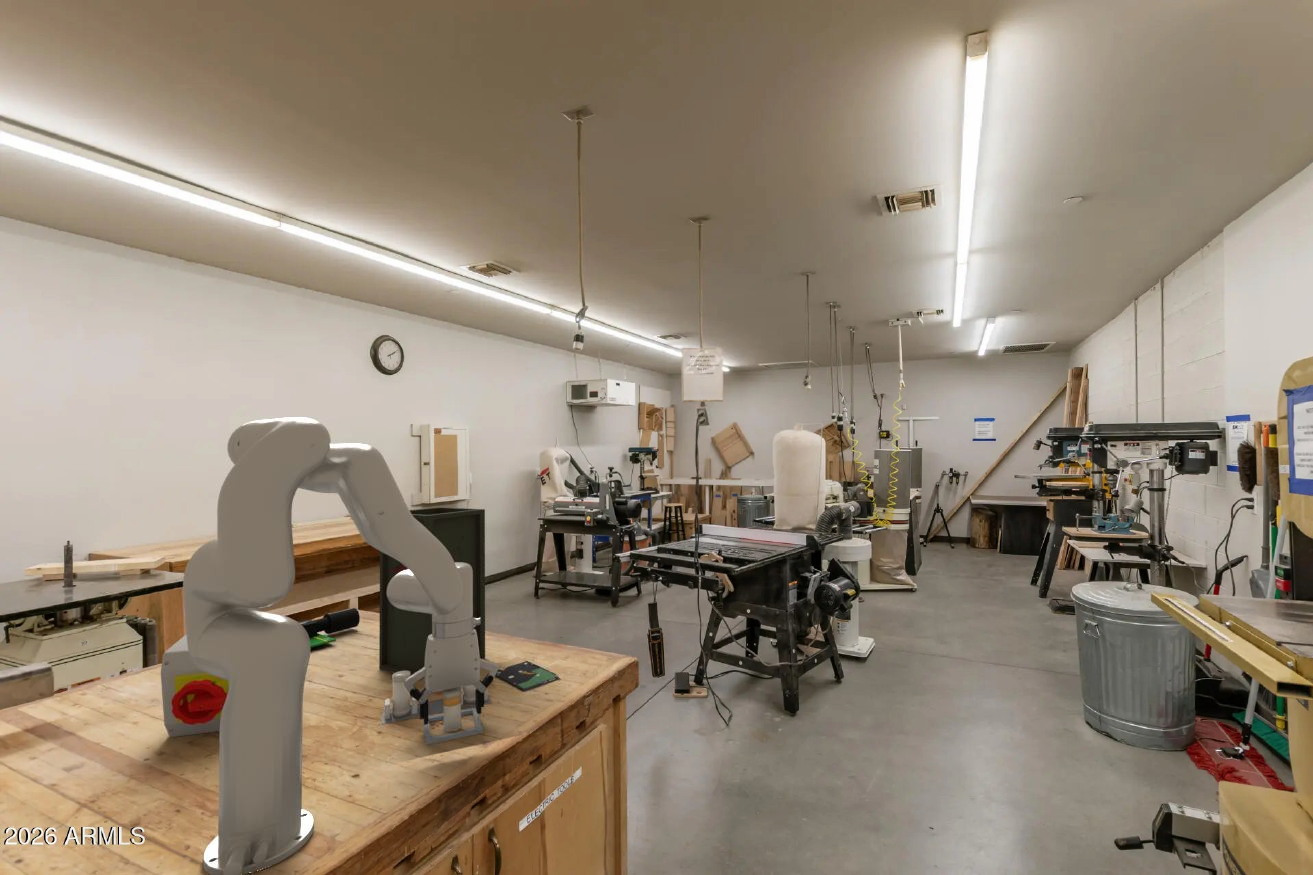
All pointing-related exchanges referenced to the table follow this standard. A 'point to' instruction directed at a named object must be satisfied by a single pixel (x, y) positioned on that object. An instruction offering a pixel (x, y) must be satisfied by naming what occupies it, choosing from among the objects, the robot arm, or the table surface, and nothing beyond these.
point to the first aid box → (410, 629)
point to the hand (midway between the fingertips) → (452, 716)
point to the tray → (457, 734)
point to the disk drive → (526, 676)
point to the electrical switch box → (190, 694)
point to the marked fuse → (452, 709)
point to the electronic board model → (330, 625)
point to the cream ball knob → (469, 694)
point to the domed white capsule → (400, 694)
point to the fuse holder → (433, 708)
